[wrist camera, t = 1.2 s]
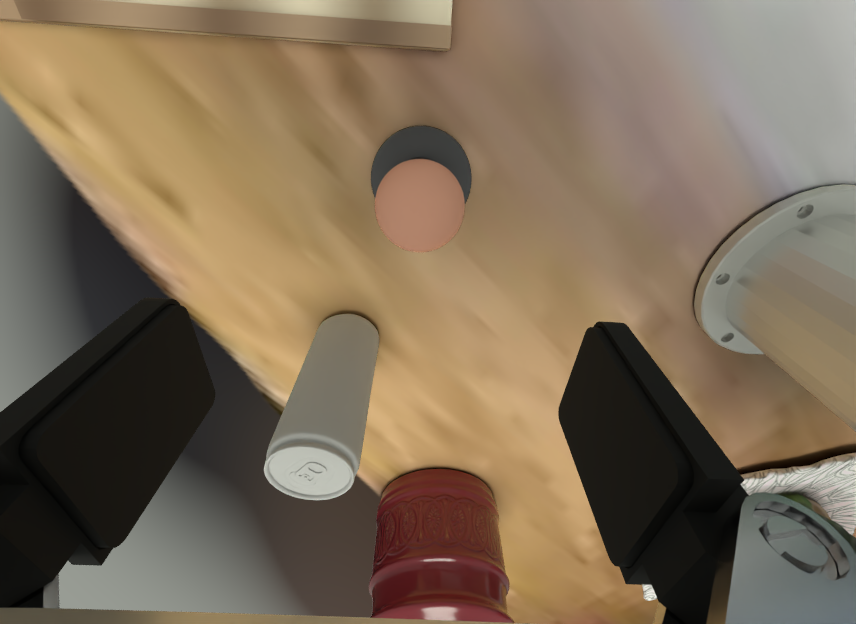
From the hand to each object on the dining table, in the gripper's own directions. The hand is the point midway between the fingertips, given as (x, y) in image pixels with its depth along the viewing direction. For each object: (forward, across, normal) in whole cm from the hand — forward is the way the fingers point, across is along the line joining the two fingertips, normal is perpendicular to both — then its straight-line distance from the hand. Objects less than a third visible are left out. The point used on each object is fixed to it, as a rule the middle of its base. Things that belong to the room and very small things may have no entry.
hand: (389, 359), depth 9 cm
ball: (+14, 0, 0) cm, 14 cm away
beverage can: (+17, +5, +12) cm, 21 cm away
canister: (+17, -4, +34) cm, 38 cm away
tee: (+16, 0, 0) cm, 17 cm away
